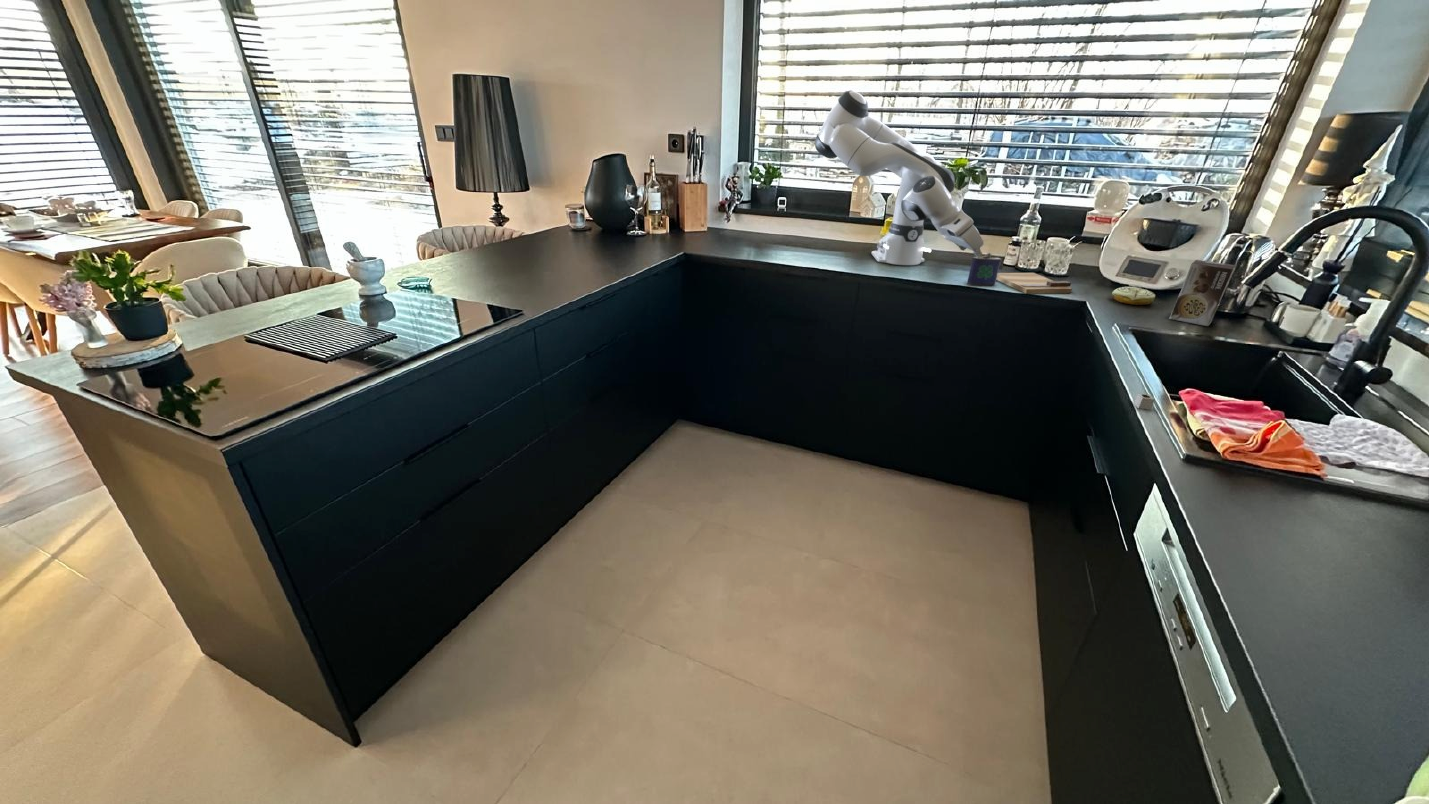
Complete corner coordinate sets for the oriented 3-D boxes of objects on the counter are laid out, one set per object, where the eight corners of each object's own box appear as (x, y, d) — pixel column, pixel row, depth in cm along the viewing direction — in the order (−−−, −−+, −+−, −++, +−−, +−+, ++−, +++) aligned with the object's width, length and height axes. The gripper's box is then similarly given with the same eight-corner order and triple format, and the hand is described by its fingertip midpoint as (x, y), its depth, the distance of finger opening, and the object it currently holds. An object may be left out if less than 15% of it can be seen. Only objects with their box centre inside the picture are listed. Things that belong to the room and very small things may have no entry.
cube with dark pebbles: (1138, 408, 109) (1143, 396, 107) (1133, 403, 110) (1138, 392, 109) (1150, 409, 108) (1155, 398, 107) (1145, 404, 110) (1150, 393, 109)
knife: (1020, 285, 182) (1022, 281, 182) (1065, 284, 184) (1066, 280, 184) (1025, 286, 180) (1026, 283, 180) (1070, 286, 182) (1071, 282, 182)
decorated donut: (1102, 297, 177) (1107, 286, 175) (1128, 295, 179) (1132, 284, 178) (1133, 307, 168) (1137, 295, 166) (1159, 305, 170) (1164, 293, 169)
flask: (993, 283, 189) (1001, 252, 184) (996, 286, 186) (1004, 254, 181) (965, 283, 189) (972, 251, 184) (968, 285, 186) (976, 253, 181)
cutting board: (990, 277, 196) (991, 273, 196) (1032, 276, 198) (1033, 272, 198) (1025, 293, 179) (1026, 289, 178) (1070, 292, 181) (1072, 288, 180)
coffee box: (1211, 322, 157) (1237, 265, 150) (1208, 327, 153) (1234, 268, 146) (1172, 314, 163) (1195, 258, 155) (1168, 318, 159) (1191, 262, 151)
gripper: (927, 222, 186) (948, 251, 192) (957, 234, 168) (980, 266, 174) (942, 208, 184) (963, 238, 190) (974, 219, 166) (997, 251, 172)
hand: (971, 252), depth 182 cm, fingers open, 8 cm apart
